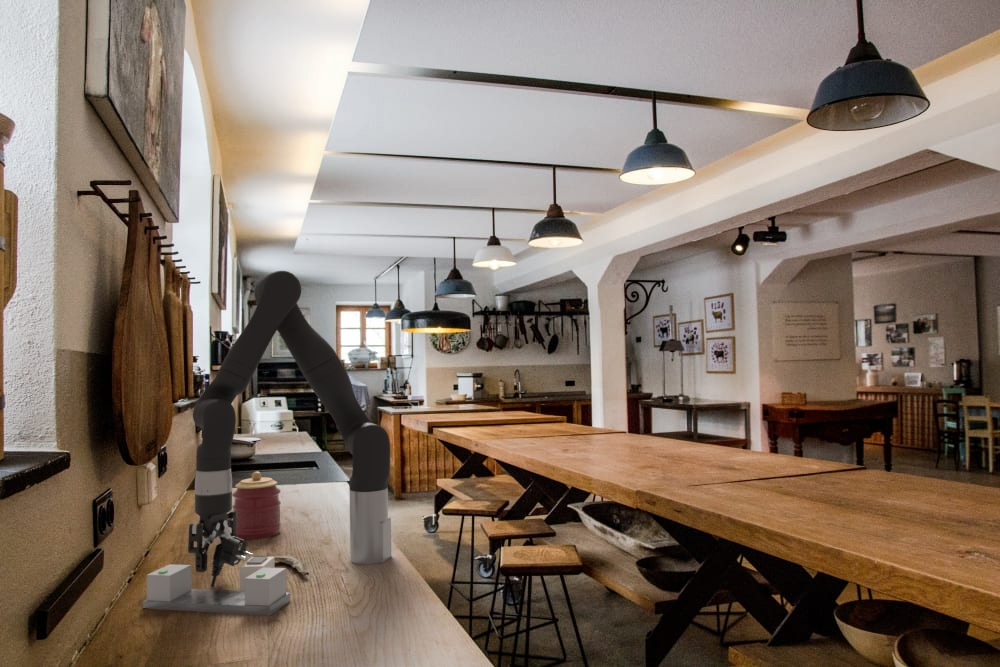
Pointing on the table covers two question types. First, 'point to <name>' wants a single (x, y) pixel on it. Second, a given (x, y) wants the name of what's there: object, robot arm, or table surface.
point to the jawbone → (290, 562)
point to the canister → (257, 507)
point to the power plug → (228, 554)
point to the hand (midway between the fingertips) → (213, 565)
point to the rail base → (216, 603)
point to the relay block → (254, 568)
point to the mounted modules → (177, 581)
